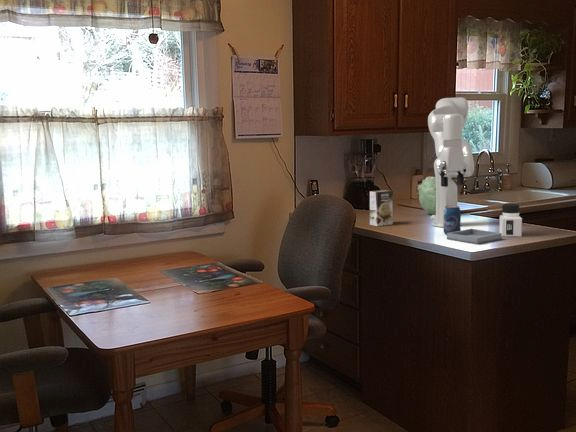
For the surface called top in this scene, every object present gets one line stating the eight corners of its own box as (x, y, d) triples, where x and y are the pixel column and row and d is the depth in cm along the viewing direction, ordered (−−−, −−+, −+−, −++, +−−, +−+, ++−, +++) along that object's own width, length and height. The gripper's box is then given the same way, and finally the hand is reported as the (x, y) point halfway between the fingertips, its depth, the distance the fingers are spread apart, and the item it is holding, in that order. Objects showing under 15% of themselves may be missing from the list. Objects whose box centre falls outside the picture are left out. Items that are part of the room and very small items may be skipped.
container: (521, 236, 250) (522, 204, 248) (501, 236, 251) (502, 205, 250) (518, 233, 257) (519, 202, 255) (499, 233, 259) (499, 202, 257)
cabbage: (454, 217, 304) (454, 177, 301) (415, 216, 310) (415, 177, 307) (456, 213, 318) (457, 174, 315) (419, 212, 325) (419, 174, 322)
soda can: (442, 235, 257) (442, 207, 256) (444, 232, 264) (444, 205, 262) (459, 236, 255) (459, 207, 253) (461, 233, 261) (461, 205, 260)
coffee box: (377, 226, 286) (376, 192, 283) (369, 224, 291) (368, 191, 289) (393, 224, 290) (393, 190, 287) (385, 222, 295) (384, 189, 293)
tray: (446, 239, 250) (446, 233, 249) (471, 234, 258) (471, 228, 258) (477, 244, 237) (477, 238, 237) (501, 239, 246) (501, 233, 245)
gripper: (459, 143, 262) (459, 183, 264) (431, 145, 252) (431, 186, 254) (473, 143, 256) (473, 184, 258) (445, 145, 246) (445, 187, 248)
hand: (452, 185), depth 256 cm, fingers open, 9 cm apart
